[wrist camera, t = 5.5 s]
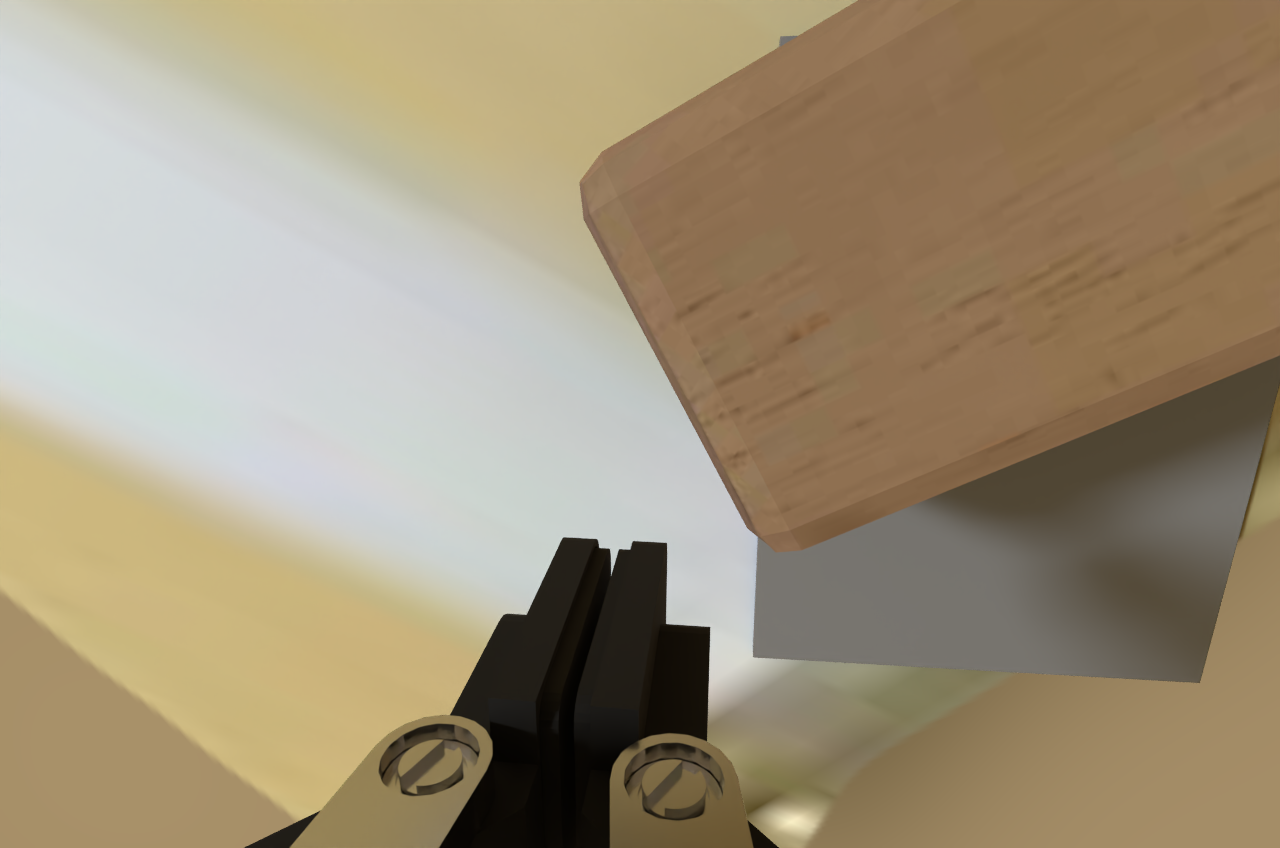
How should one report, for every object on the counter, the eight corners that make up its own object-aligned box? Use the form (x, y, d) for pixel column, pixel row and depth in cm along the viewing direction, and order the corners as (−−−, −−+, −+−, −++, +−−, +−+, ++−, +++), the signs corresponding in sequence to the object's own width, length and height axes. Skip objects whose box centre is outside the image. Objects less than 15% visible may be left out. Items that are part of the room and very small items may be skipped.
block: (752, 441, 26) (1375, 159, 21) (767, 583, 16) (1901, 128, 12) (619, 183, 24) (1279, -196, 19) (550, 174, 14) (1828, -585, 10)
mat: (779, 39, 22) (780, 36, 22) (1365, 20, 20) (1377, 17, 20) (752, 651, 29) (753, 657, 29) (1192, 676, 27) (1199, 682, 27)
